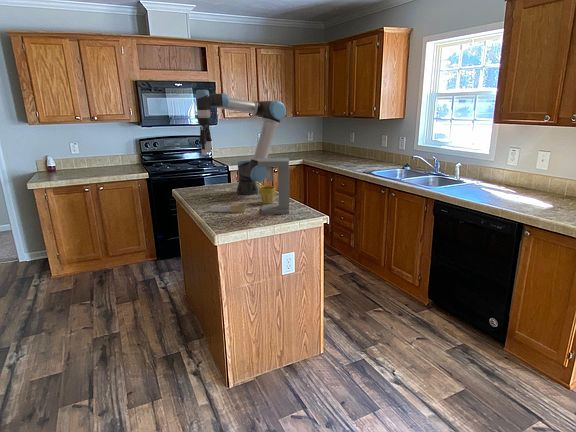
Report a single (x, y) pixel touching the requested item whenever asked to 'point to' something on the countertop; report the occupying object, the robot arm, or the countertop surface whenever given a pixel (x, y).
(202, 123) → the robot arm
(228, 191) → the countertop surface
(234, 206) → the metal block
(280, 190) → the press stand
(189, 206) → the countertop surface
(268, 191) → the plant pot
